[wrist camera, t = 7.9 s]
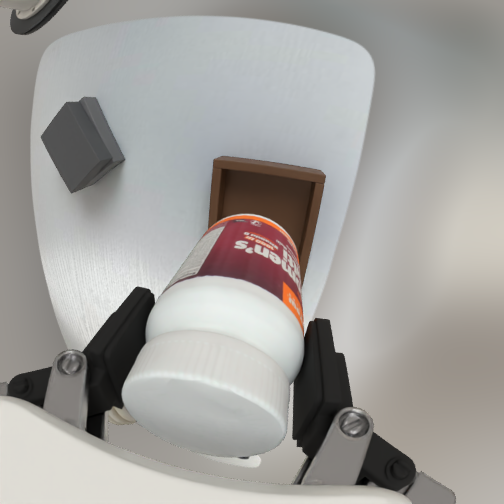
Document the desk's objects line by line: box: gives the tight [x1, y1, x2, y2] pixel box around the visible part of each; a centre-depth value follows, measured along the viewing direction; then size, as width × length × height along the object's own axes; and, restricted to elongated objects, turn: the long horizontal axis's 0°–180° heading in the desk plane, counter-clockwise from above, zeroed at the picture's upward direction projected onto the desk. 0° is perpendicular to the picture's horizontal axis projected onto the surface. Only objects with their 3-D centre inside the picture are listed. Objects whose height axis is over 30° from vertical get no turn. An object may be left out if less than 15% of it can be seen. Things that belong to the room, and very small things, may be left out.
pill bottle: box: [122, 214, 304, 457], centre depth 12 cm, size 6×6×11 cm
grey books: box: [41, 97, 125, 193], centre depth 24 cm, size 9×6×5 cm
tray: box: [208, 156, 326, 289], centre depth 30 cm, size 28×10×3 cm, turn 173°
